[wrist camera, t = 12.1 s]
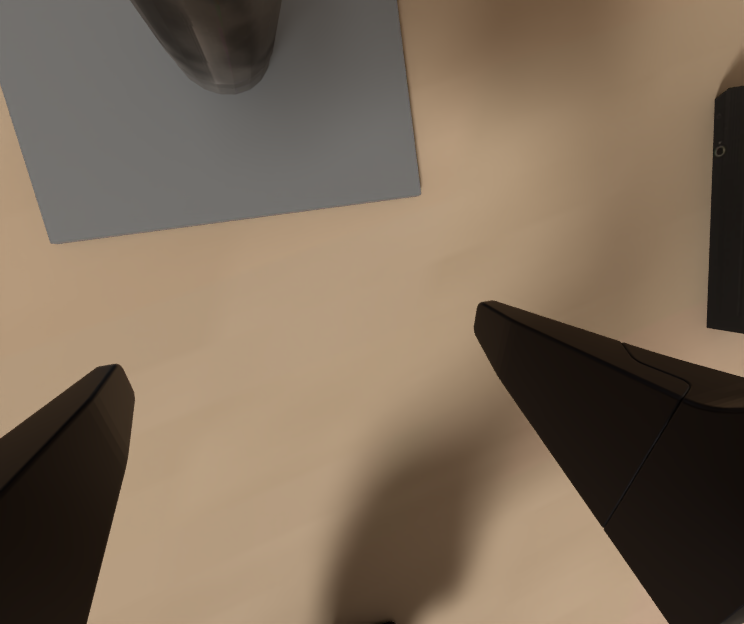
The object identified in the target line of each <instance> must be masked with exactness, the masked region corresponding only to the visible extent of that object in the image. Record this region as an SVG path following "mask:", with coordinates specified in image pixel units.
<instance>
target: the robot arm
mask: <svg viewBox="0 0 744 624" xmlns="http://www.w3.org/2000/svg"><path fill="white" fill-rule="evenodd" d="M474 333H475V336H476V337H477V339H478V341H479V343H480V345H481V347H482V348H483V350H484V352H485V354H486V356H487V358H488V360H489V361H490V363H491V365H492V367H493V369H494V371H495V372H496V374H497V376H498V377H499V379H500V380H501V382H502V383H503V385H504V386H505V388H506V389H507V391H508V392H509V394H510V395H511V396H512V398H513V399H514V401H515V402H516V404H517V405H518V406H519V408H520V409H521V411H522V412H523V414H524V415H525V417H526V418H527V419H528V421H529V422H530V424H531V425H532V427H533V428H534V430H535V431H536V432H537V434H538V435H539V437H540V438H541V440H542V441H543V443H544V444H545V445H546V447H547V448H548V450H549V451H550V453H551V454H552V455H553V457H554V458H555V460H556V461H557V463H558V464H559V466H560V467H561V468H562V470H563V471H564V473H565V474H566V476H567V477H568V479H569V480H570V481H571V483H572V484H573V486H574V487H575V489H576V490H577V491H578V493H579V494H580V496H581V497H582V499H583V500H584V502H585V503H586V504H587V506H588V507H589V509H590V510H591V512H592V513H593V515H594V516H595V517H596V519H597V520H598V522H599V523H600V525H601V526H602V527H603V528H604V531H605V532H606V534H607V535H608V537H609V538H610V539H611V541H612V542H613V544H614V545H615V547H616V548H617V549H618V551H619V552H620V554H621V555H622V557H623V558H624V560H625V561H626V562H627V564H628V565H629V567H630V568H631V570H632V571H633V573H634V574H635V575H636V577H637V578H638V580H639V581H640V583H641V584H642V585H643V587H644V588H645V590H646V591H647V593H648V594H649V596H650V597H651V598H652V600H653V601H654V603H655V604H656V606H657V607H658V609H659V610H660V611H661V613H662V614H663V616H664V617H665V619H666V620H667V622H668V623H669V624H742V623H744V377H740V376H736V375H733V374H729V373H726V372H722V371H718V370H715V369H711V368H707V367H704V366H700V365H697V364H693V363H689V362H686V361H682V360H679V359H675V358H672V357H668V356H665V355H662V354H658V353H655V352H652V351H649V350H645V349H642V348H639V347H636V346H633V345H630V344H627V343H621V342H620V341H617V340H614V339H611V338H608V337H605V336H602V335H599V334H596V333H593V332H589V331H586V330H583V329H580V328H577V327H574V326H571V325H568V324H565V323H562V322H559V321H556V320H552V319H549V318H546V317H543V316H540V315H537V314H534V313H531V312H528V311H525V310H522V309H519V308H515V307H512V306H509V305H506V304H503V303H500V302H497V301H493V300H491V301H485V302H481V303H479V304H478V306H477V311H476V317H475V323H474ZM134 403H135V396H134V391H133V389H132V386H131V384H130V382H129V380H128V378H127V376H126V374H125V372H124V370H123V368H122V367H121V366H120V365H119V364H111V365H105V366H99V367H97V368H95V369H94V370H92V371H91V372H90V373H88V374H87V375H86V376H84V377H83V378H82V379H80V380H79V381H78V382H76V383H75V384H73V385H72V386H71V387H69V388H68V389H67V390H65V391H64V392H63V393H61V394H60V395H59V396H57V397H56V398H55V399H53V400H52V401H50V402H49V403H48V404H46V405H45V406H44V407H42V408H41V409H40V410H38V411H37V412H36V413H34V414H33V415H31V416H30V417H29V418H27V419H26V420H25V421H23V422H22V423H21V424H19V425H18V426H17V427H15V428H14V429H13V430H11V431H10V432H8V433H7V434H6V435H4V436H3V437H2V438H0V624H87V620H88V616H89V612H90V608H91V604H92V600H93V596H94V592H95V589H96V585H97V581H98V577H99V573H100V569H101V565H102V561H103V557H104V553H105V549H106V545H107V541H108V537H109V533H110V529H111V525H112V521H113V517H114V513H115V509H116V505H117V501H118V497H119V493H120V489H121V485H122V481H123V477H124V474H125V469H126V465H127V460H128V453H129V445H130V437H131V428H132V420H133V411H134ZM384 624H395V623H394V622H392V621H390V622H387V623H384Z"/></svg>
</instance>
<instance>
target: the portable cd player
mask: <svg viewBox="0 0 744 624" xmlns="http://www.w3.org/2000/svg"><path fill="white" fill-rule="evenodd" d="M707 328H712V329H718V330H724V331H730V332H737V333H743V334H744V86H739V87H732V88H729V89H727V90H726V91H725V92H724V93H722V94H721V95H720V96H719V97H717V98H716V99H715V112H714V139H713V167H712V194H711V221H710V248H709V276H708V303H707Z"/></svg>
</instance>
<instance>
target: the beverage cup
mask: <svg viewBox="0 0 744 624" xmlns="http://www.w3.org/2000/svg"><path fill="white" fill-rule="evenodd" d="M130 1H131V3H132V4H133V6H134V7H135V8H136V10H137V11H138V13H139V14H140V15H141V17H142V18H143V20H144V21H145V23H146V24H147V25H148V27H149V28H150V30H151V31H152V33H153V34H154V35H155V37H156V38H157V40H158V41H159V42H160V44H161V45H162V47H163V48H164V50H165V51H166V52H167V53H168V54H169V55H170V56H171V58H172V59H173V60H174V61H175V62H176V63H177V65H178V67H179V68H180V69H181V70H182V71H183V72H184V73H185V75H186V76H187V77H188V78H189V79H190V80H191V81H193V82H194V83H196V84H197V85H199V86H200V87H202V88H203V89H205V90H208V91H212V92H215V93H218V94H233V95H236V94H239V93H242V92H245V91H248V90H250V89H252V88H253V87H254V86H255V85H256V84H258V83H259V82H260V81H261V80H262V78H263V76H264V75H265V73H266V71H267V69H268V66H269V61H270V57H271V55H272V53H273V47H274V42H275V36H276V30H277V25H278V19H279V14H280V8H281V2H282V0H130Z"/></svg>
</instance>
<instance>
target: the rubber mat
mask: <svg viewBox="0 0 744 624" xmlns="http://www.w3.org/2000/svg"><path fill="white" fill-rule="evenodd" d="M0 84H1V88H2V91H3V94H4V97H5V100H6V104H7V107H8V110H9V113H10V116H11V119H12V123H13V126H14V129H15V132H16V135H17V138H18V142H19V145H20V148H21V151H22V154H23V158H24V161H25V164H26V167H27V170H28V173H29V177H30V180H31V183H32V186H33V189H34V192H35V196H36V199H37V202H38V205H39V208H40V211H41V215H42V218H43V221H44V224H45V227H46V231H47V234H48V237H49V240H50V243H51V244H62V243H69V242H77V241H84V240H92V239H99V238H107V237H114V236H122V235H129V234H137V233H144V232H152V231H160V230H167V229H175V228H182V227H190V226H197V225H205V224H212V223H220V222H227V221H235V220H242V219H250V218H257V217H265V216H272V215H280V214H288V213H295V212H303V211H310V210H318V209H325V208H333V207H340V206H348V205H355V204H363V203H370V202H378V201H385V200H393V199H401V198H408V197H416V196H419V195H421V189H420V181H419V173H418V165H417V157H416V149H415V141H414V133H413V125H412V117H411V110H410V102H409V94H408V86H407V78H406V70H405V62H404V54H403V46H402V38H401V30H400V22H399V14H398V6H397V0H282V2H281V8H280V14H279V19H278V25H277V30H276V36H275V42H274V47H273V53H272V55H271V57H270V61H269V66H268V69H267V71H266V73H265V75H264V76H263V78H262V80H261V81H260V82H259V83H258V84H256V85H255V86H254V87H253V88H252V89H250V90H248V91H245V92H242V93H239V94H236V95H233V94H218V93H215V92H212V91H208V90H205V89H203V88H202V87H200V86H199V85H197V84H196V83H194V82H193V81H191V80H190V79H189V78H188V77H187V76H186V75H185V73H184V72H183V71H182V70H181V69H180V68H179V67H178V65H177V63H176V62H175V61H174V60H173V59H172V58H171V56H170V55H169V54H168V53H167V52H166V51H165V50H164V48H163V47H162V45H161V44H160V42H159V41H158V40H157V38H156V37H155V35H154V34H153V33H152V31H151V30H150V28H149V27H148V25H147V24H146V23H145V21H144V20H143V18H142V17H141V15H140V14H139V13H138V11H137V10H136V8H135V7H134V6H133V4H132V3H131V1H130V0H0Z"/></svg>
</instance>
